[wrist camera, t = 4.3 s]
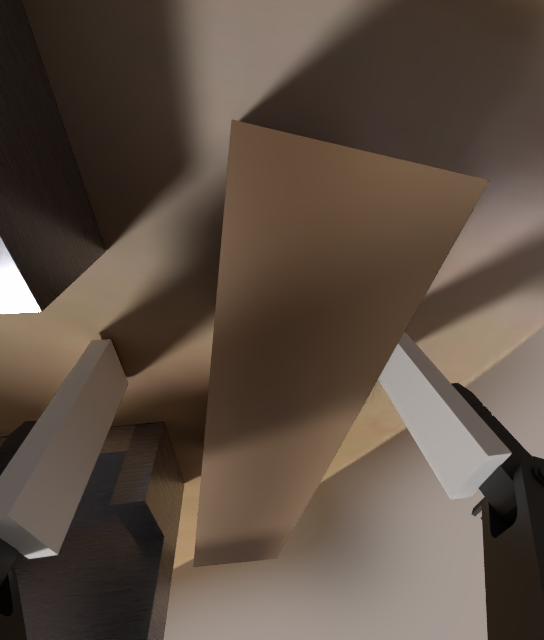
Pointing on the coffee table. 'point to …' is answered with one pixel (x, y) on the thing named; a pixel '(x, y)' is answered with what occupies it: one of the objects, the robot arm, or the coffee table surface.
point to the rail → (308, 318)
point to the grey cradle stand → (121, 442)
